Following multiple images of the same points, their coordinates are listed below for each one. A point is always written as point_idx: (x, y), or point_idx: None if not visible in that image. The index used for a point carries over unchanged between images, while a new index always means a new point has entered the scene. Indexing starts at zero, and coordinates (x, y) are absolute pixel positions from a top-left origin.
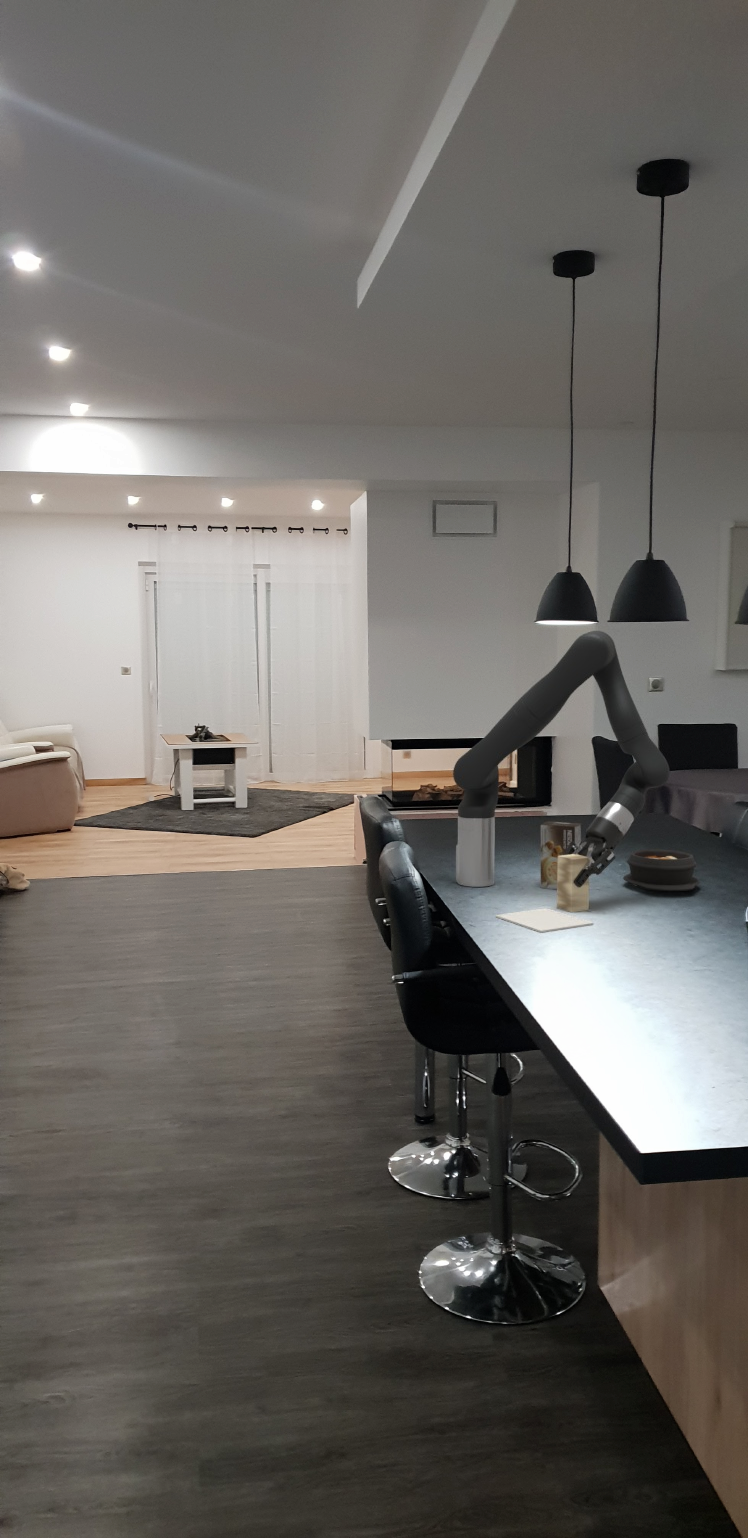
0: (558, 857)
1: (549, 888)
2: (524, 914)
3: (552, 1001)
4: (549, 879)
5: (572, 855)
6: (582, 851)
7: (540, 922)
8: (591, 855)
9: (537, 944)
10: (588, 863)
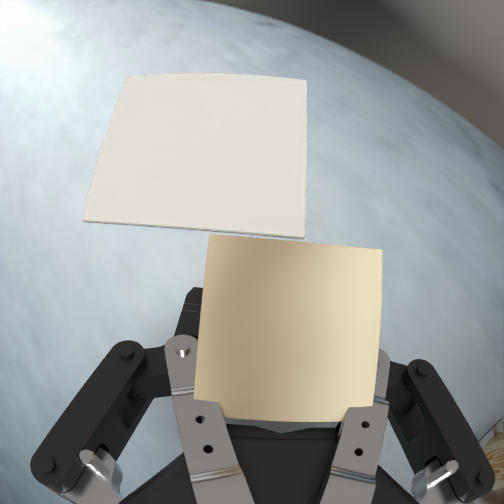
0: (369, 251)
1: (486, 434)
2: (273, 132)
3: (7, 11)
4: (501, 439)
5: (335, 361)
6: (327, 465)
7: (177, 111)
8: (178, 427)
9: (91, 46)
10: (175, 371)
